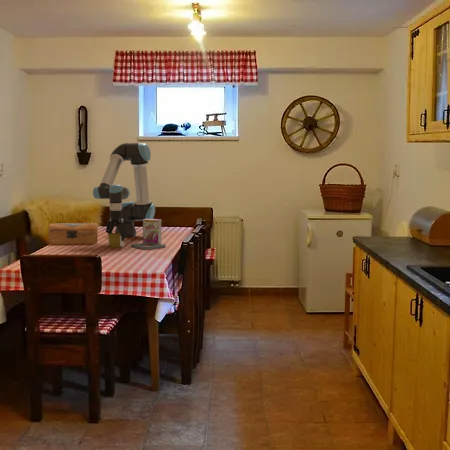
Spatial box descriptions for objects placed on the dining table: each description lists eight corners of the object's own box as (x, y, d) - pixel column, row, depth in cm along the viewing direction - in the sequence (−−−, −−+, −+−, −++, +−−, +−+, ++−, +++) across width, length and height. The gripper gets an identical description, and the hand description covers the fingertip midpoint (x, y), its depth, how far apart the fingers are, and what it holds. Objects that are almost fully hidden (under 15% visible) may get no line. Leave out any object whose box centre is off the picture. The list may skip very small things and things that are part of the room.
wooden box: (48, 247, 379) (47, 225, 378) (50, 243, 395) (50, 222, 394) (97, 246, 384) (97, 224, 383) (98, 243, 401) (97, 222, 399)
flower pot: (109, 247, 379) (109, 232, 378) (124, 247, 380) (123, 232, 379) (108, 249, 370) (108, 234, 369) (122, 249, 371) (122, 234, 370)
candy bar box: (142, 244, 393) (142, 219, 391) (146, 243, 397) (145, 218, 396) (158, 245, 389) (158, 219, 387) (161, 244, 394) (161, 219, 392)
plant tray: (131, 248, 375) (131, 244, 375) (150, 246, 385) (150, 242, 385) (146, 251, 364) (146, 246, 364) (165, 248, 375) (165, 244, 375)
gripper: (99, 209, 378) (100, 243, 381) (122, 211, 361) (122, 247, 364) (109, 208, 384) (110, 242, 386) (132, 210, 367) (132, 246, 369)
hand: (116, 245), depth 375 cm, fingers closed on flower pot, 12 cm apart
